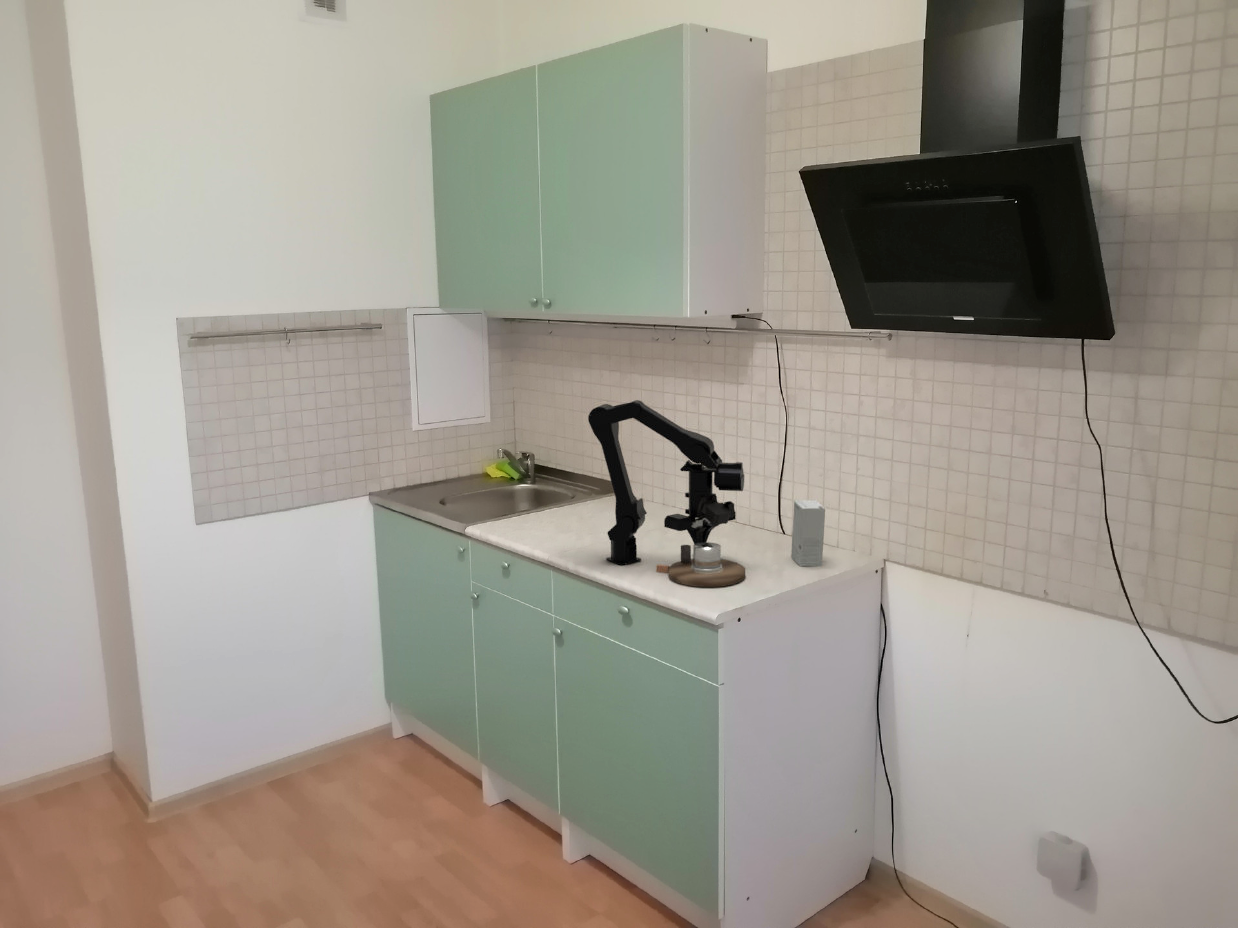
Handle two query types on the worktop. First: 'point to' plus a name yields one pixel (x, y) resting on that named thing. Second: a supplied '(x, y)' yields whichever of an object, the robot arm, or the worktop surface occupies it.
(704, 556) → the cap
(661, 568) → the pointer
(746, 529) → the worktop surface
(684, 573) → the turntable
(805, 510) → the skincare box
